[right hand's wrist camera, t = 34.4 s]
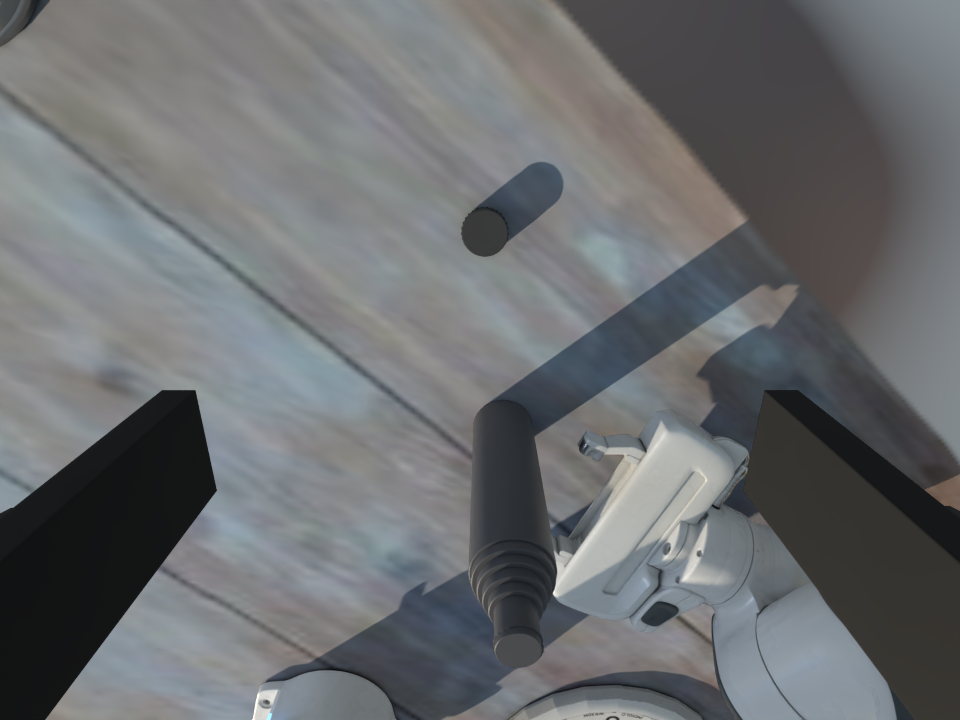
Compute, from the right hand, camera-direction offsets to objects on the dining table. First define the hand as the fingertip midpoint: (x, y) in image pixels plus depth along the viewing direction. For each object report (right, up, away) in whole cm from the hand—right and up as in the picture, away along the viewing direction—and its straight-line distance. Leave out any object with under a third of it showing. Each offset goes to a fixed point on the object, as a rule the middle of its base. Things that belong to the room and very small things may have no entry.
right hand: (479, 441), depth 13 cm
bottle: (+2, -4, +39) cm, 40 cm away
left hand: (+6, -9, +34) cm, 36 cm away
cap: (0, +12, +31) cm, 34 cm away
